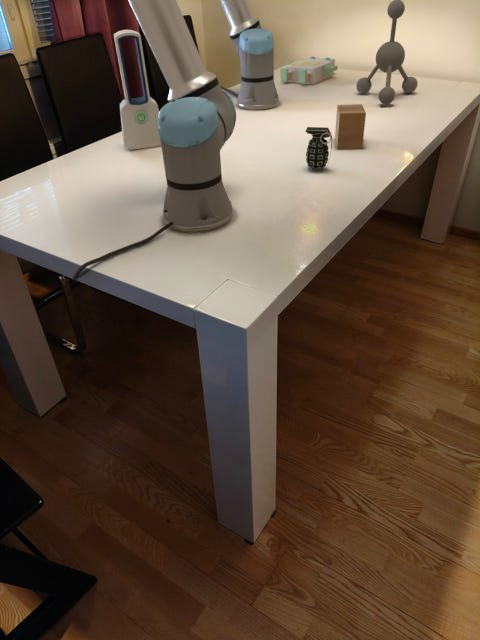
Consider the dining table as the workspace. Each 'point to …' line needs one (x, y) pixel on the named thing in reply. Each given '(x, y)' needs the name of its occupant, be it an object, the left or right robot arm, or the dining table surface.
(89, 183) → the dining table surface
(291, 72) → the decorative block
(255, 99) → the right robot arm
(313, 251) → the dining table surface
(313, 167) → the grenade
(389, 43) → the molecular model
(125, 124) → the electronic device
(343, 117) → the block
